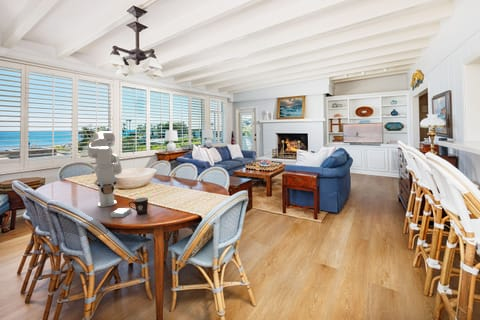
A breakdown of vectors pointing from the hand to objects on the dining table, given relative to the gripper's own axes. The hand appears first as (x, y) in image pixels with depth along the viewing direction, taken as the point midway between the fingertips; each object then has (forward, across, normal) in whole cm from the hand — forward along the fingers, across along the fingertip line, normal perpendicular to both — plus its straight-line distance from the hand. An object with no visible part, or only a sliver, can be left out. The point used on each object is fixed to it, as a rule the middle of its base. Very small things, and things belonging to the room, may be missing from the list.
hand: (107, 192), depth 155 cm
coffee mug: (+14, -17, +16) cm, 27 cm away
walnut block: (+1, 0, 0) cm, 1 cm away
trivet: (+14, -6, +10) cm, 18 cm away
